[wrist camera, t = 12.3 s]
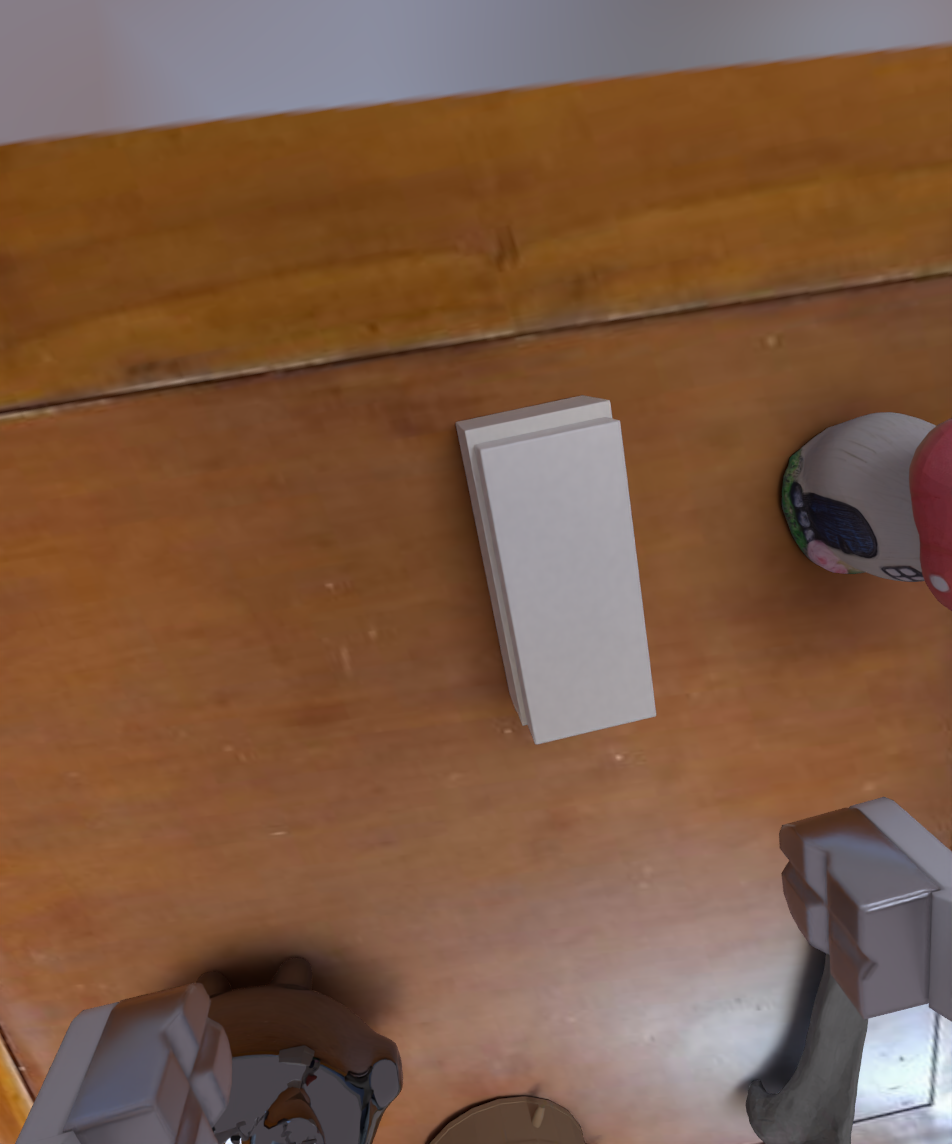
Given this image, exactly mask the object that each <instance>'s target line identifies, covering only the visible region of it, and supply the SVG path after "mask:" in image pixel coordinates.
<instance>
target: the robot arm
mask: <svg viewBox="0 0 952 1144" xmlns="http://www.w3.org/2000/svg"><path fill="white" fill-rule="evenodd" d="M779 842H780V849H781V850H782V852H783V853H784V854H785V856H786V857H787V858H788V859H789V862H788V864H787V865H786V867H785V868H784V870H783V872H782V873H781V874H782V883H783V892H784V895H785V898H786V901H787V904H788V907H789V910H790V913H791V915H792V917H793V919H794V921H795V922H796V924H797V926H798V928H799V930H800V931H801V933H802V934H803V935H804V937H805V938H806V940H807V941H808V943H809V944H810V945H811V946H813V947H815V948H817V949H819V950H821V951H823V952H825V953H827V954H829V955H830V972H831V975H832V976H833V978H834V979H835V980H836V982H837V983H838V985H839V986H840V987H841V989H842V990H843V991H844V993H845V994H846V996H847V997H848V998H849V1000H850V1001H851V1002H852V1004H853V1005H854V1007H855V1008H856V1009H857V1011H858V1012H859V1013H860V1015H861V1016H862V1018H863V1019H868V1018H872V1017H876V1016H880V1015H884V1014H888V1013H892V1012H896V1011H900V1010H904V1009H908V1008H912V1007H916V1006H920V1005H924V1004H928V1003H929V1008H931V1009H933V1010H934V1011H936V1012H937V1013H939V1014H940V1015H942V1016H944V1017H945V1018H947V1019H948V1020H950V1021H952V851H950V850H949V849H948V848H947V847H946V846H945V845H944V844H942V843H941V842H940V841H939V840H938V839H937V838H936V837H934V836H933V835H932V834H931V833H930V832H929V831H928V830H926V829H925V828H924V827H923V826H922V825H921V824H920V823H918V822H917V821H916V820H915V819H914V818H913V817H912V816H910V815H909V814H908V813H907V812H906V811H905V810H904V809H902V808H901V807H900V806H899V805H898V804H897V803H896V802H894V801H893V800H891V799H888V798H886V797H882V798H878V799H874V800H871V801H867V802H864V803H860V804H856V805H853V806H850V807H849V808H842V809H839V810H835V811H832V812H828V813H824V814H821V815H817V816H814V817H810V818H806V819H803V820H799V821H796V822H792V823H788V824H785V825H782V827H781V830H780V832H779ZM210 1004H211V1000H210V998H209V996H208V994H207V992H206V990H205V988H204V986H203V984H202V983H191V984H187V985H183V986H179V987H175V988H171V989H166V990H162V991H158V992H154V993H150V994H146V995H141V996H137V997H133V998H129V999H125V1000H121V1001H120V1002H116V1003H112V1004H107V1005H103V1006H99V1007H95V1008H90V1009H86V1010H82V1012H81V1013H80V1014H79V1015H78V1016H77V1017H76V1018H75V1019H74V1020H73V1021H72V1022H71V1024H70V1026H69V1028H68V1030H67V1032H66V1035H65V1037H64V1039H63V1041H62V1043H61V1045H60V1048H59V1050H58V1052H57V1054H56V1056H55V1058H54V1061H53V1063H52V1065H51V1067H50V1069H49V1071H48V1074H47V1076H46V1078H45V1080H44V1082H43V1084H42V1087H41V1089H40V1091H39V1093H38V1095H37V1097H36V1100H35V1102H34V1104H33V1106H32V1108H31V1110H30V1113H29V1115H28V1117H27V1119H26V1121H25V1124H24V1126H23V1128H22V1130H21V1132H20V1134H19V1137H18V1139H17V1141H16V1143H15V1144H219V1143H218V1141H217V1139H216V1137H215V1135H214V1133H213V1130H212V1128H213V1126H214V1125H215V1124H216V1122H217V1121H218V1119H219V1118H220V1117H221V1115H222V1114H223V1112H224V1111H225V1110H226V1108H227V1107H228V1101H229V1096H230V1090H231V1085H232V1055H231V1050H230V1045H229V1040H228V1037H227V1035H226V1033H225V1030H224V1028H223V1026H222V1025H221V1024H219V1023H217V1022H216V1021H214V1020H212V1019H210V1018H208V1017H207V1016H208V1012H209V1008H210Z"/></svg>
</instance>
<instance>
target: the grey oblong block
mask: <svg viewBox="0 0 952 1144" xmlns="http://www.w3.org/2000/svg"><path fill="white" fill-rule="evenodd" d="M601 417H608V418H612V413H611V405H610V400H605V399H600V398H594V397H588V396H583V395H582V396H577V397H573V398H568V399H563V400H558V401H554V402H549V403H544V404H539V405H535V406H530V407H525V408H520V409H516V410H511V411H506V412H501V413H497V414H492V415H487V416H482V417H478V418H473V419H468V420H464V421H459V422H456V428H457V433H458V438H459V443H460V448H461V453H462V458H463V463H464V468H465V473H466V478H467V483H468V488H469V493H470V498H471V503H472V508H473V513H474V518H475V523H476V528H477V533H478V538H479V543H480V548H481V553H482V558H483V563H484V568H485V573H486V578H487V583H488V588H489V593H490V598H491V603H492V608H493V613H494V618H495V623H496V628H497V633H498V638H499V643H500V648H501V653H502V658H503V663H504V668H505V673H506V678H507V683H508V688H509V693H510V696H511V699H512V702H513V704H514V707H515V710H516V712H518V715H519V718H520V720H521V723H522V725H523V726H524V725H528V724H527V719H526V714H525V709H524V703H523V698H522V693H521V688H520V683H519V677H518V672H517V667H516V662H515V656H514V651H513V646H512V641H511V636H510V630H509V625H508V620H507V615H506V610H505V604H504V599H503V594H502V589H501V583H500V578H499V573H498V568H497V563H496V557H495V552H494V547H493V542H492V536H491V531H490V526H489V521H488V516H487V510H486V505H485V500H484V495H483V489H482V484H481V479H480V474H479V469H478V463H477V458H476V453H475V448H474V446H475V444H478V443H483V442H488V441H493V440H497V439H502V438H507V437H511V436H516V435H521V434H526V433H530V432H535V431H540V430H545V429H549V428H554V427H559V426H564V425H568V424H573V423H578V422H583V421H587V420H592V419H597V418H601Z"/></svg>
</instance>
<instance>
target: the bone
mask: <svg viewBox="0 0 952 1144" xmlns="http://www.w3.org/2000/svg"><path fill="white" fill-rule="evenodd" d="M867 1024H868V1019H863V1018H862V1016H861V1015H860V1013H859V1012H858V1011H857V1009H856V1008H855V1007H854V1005H853V1004H852V1002H851V1001H850V1000H849V998H848V997H847V996H846V994H845V993H844V991H843V990H842V989H841V987H840V986H839V985H838V983H837V982H836V980H835V979H834V978H833V976H832V975H831V972H830V955H829V954H827V953H826V959H825V966H824V972H823V975H822V979H821V982H820V985H819V988H818V991H817V995H816V998H815V1002H814V1006H813V1010H812V1014H811V1020H810V1025H809V1029H808V1033H807V1037H806V1044H805V1049H804V1052H803V1054H802V1056H801V1058H800V1061H799V1064H798V1067H797V1069H796V1070H795V1072H794V1074H793V1076H792V1078H791V1079H790V1080H789V1082H788V1083H787V1084H786V1085H785V1086H784V1087H783V1088H782V1090H781V1091H780V1092H778V1093H777V1094H769V1093H767V1092H766V1090H765V1089H764V1087H763V1085H762V1083H761V1081H759V1080H755V1081H753V1082H752V1083H751V1085H750V1087H749V1089H748V1096H747V1099H746V1110H747V1114H748V1117H749V1122H750V1124H751V1126H752V1128H753V1130H754V1132H755V1133H756V1134H757V1136H758V1137H759V1138H760V1139H761V1140H762V1141H763V1142H764V1143H766V1144H851V1131H852V1125H853V1120H854V1113H855V1102H856V1096H857V1085H858V1078H859V1071H860V1065H861V1058H862V1052H863V1046H864V1041H865V1037H866V1032H867Z"/></svg>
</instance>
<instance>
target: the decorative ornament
mask: <svg viewBox="0 0 952 1144" xmlns="http://www.w3.org/2000/svg"><path fill="white" fill-rule="evenodd" d="M782 509H783V512H784V515H785V517H786V520H787V523H788V525H789V528H790V531H791V534H792V536H793V538H794V540H795V541H796V543H797V544H798V546H799V547H800V549H801V550H802V552H803V553H804V554H805V555H806V556H807V558H809V559H810V560H811V561H812V562H814V563H815V564H817V565H819V566H821V567H822V568H824V569H826V570H828V571H830V572H834V573H843V574H856V573H864V572H867V573H870V574H872V575H875V576H878V577H881V578H886V579H891V580H897V581H907V582H918V581H925V582H926V584H927V586H928V587H929V589H930V591H931V592H932V593H933V595H934V596H935V597H936V599H937V600H938V601H939V602H940V603H941V604H943V605H944V606H945V607H947V608H948V609H950V610H951V611H952V418H951V419H948V420H946V421H945V422H943V423H941V424H939V425H937V426H935V425H933V424H931V423H929V422H926V421H924V420H921V419H918V418H915V417H912V416H908V415H904V414H898V413H891V412H888V413H874V414H868V415H865V416H862V417H858V418H855V419H852V420H849V421H847V422H844V423H841V424H838V425H835V426H832V427H829V428H827V429H825V430H824V431H823V432H821V433H820V434H818V435H817V436H815V437H814V438H813V439H811V440H810V441H809V442H808V443H806V444H805V445H804V446H803V447H802V448H801V449H799V450H798V451H797V452H796V453H795V454H794V455H792V456H791V457H790V459H789V465H788V468H787V469H786V471H785V474H784V478H783V487H782Z"/></svg>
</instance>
